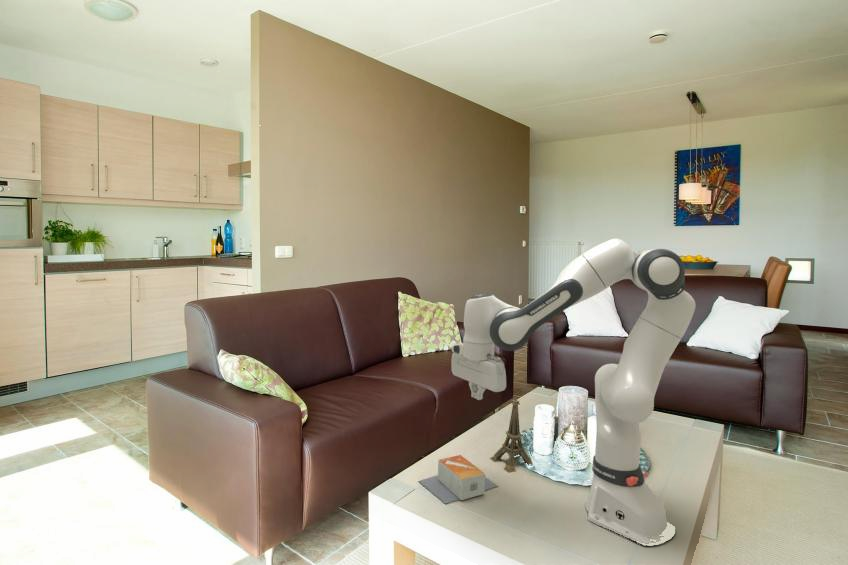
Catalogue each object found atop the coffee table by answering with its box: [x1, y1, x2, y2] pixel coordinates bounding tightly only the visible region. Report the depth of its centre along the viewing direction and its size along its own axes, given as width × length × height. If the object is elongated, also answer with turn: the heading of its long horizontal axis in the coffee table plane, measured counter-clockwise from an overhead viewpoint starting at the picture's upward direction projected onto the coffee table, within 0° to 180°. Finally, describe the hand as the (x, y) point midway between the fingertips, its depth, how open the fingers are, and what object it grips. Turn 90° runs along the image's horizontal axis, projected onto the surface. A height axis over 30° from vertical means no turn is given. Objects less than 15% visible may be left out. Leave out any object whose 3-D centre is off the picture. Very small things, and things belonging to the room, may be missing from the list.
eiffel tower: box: [489, 394, 534, 474], centre depth 158 cm, size 11×11×25 cm
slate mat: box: [417, 474, 499, 505], centre depth 144 cm, size 14×19×1 cm
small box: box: [437, 454, 486, 501], centre depth 142 cm, size 8×6×13 cm
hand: (476, 398), depth 139 cm, fingers closed
